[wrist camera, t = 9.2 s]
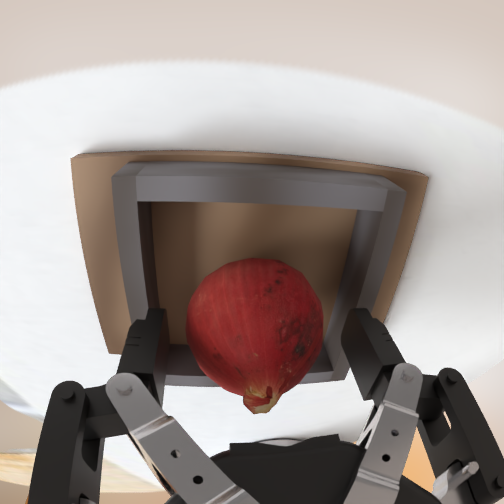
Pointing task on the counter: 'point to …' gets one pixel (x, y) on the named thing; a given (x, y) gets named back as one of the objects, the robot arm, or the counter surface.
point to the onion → (255, 329)
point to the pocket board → (240, 236)
